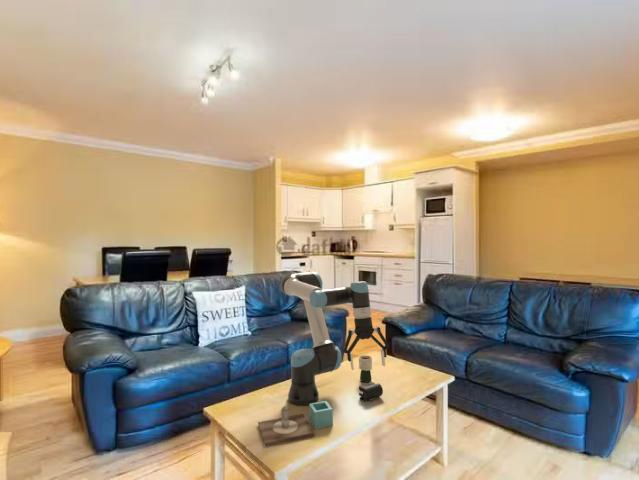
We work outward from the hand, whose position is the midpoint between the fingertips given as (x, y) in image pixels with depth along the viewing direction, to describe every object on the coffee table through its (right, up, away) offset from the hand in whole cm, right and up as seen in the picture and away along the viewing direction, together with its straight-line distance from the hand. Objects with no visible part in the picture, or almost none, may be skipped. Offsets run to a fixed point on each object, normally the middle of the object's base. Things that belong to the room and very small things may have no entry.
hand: (368, 367), depth 153 cm
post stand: (-35, -25, -5) cm, 43 cm away
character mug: (+5, -23, +43) cm, 49 cm away
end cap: (+4, -24, +22) cm, 33 cm away
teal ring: (-20, -24, +1) cm, 32 cm away
